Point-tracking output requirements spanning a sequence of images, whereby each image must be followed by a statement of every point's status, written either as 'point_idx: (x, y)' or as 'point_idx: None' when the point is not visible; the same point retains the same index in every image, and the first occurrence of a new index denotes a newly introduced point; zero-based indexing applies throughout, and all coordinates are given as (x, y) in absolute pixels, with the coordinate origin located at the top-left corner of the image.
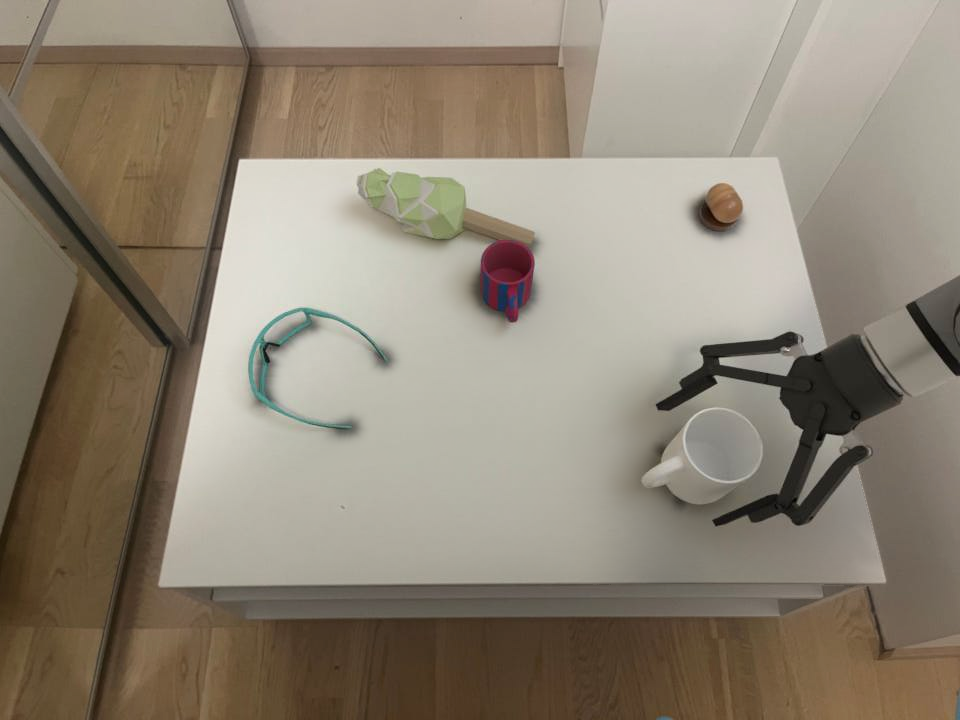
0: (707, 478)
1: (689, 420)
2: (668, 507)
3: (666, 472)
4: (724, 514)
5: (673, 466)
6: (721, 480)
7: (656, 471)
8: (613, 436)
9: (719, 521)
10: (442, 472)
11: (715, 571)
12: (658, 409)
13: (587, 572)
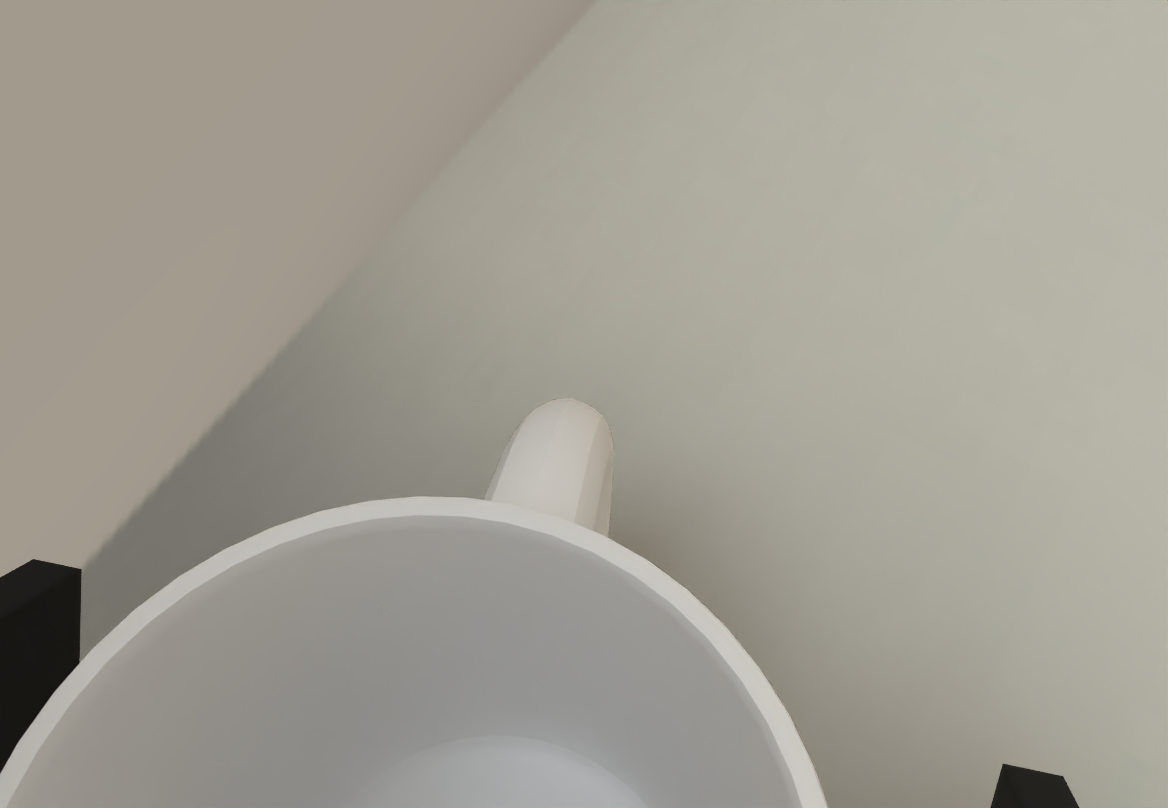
0: (249, 545)
1: (804, 753)
2: None
3: (521, 430)
4: (7, 613)
5: (523, 462)
6: (140, 626)
7: (571, 405)
8: (914, 653)
9: (21, 582)
10: (1032, 11)
11: None
12: (1010, 767)
13: (413, 215)
